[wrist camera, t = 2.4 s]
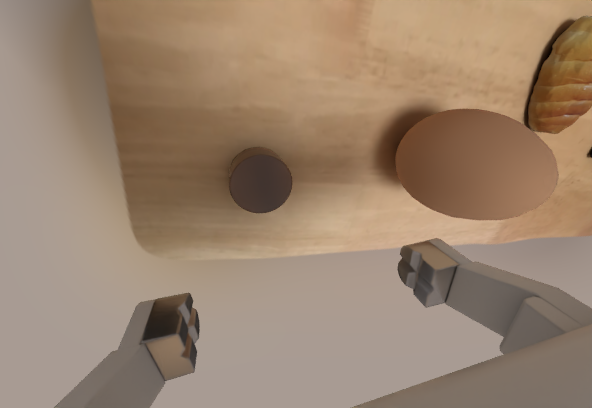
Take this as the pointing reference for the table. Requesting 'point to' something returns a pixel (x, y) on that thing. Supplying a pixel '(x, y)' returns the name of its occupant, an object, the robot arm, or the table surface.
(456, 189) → the egg
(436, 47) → the table surface
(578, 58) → the pastry
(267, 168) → the brown bottle cap
